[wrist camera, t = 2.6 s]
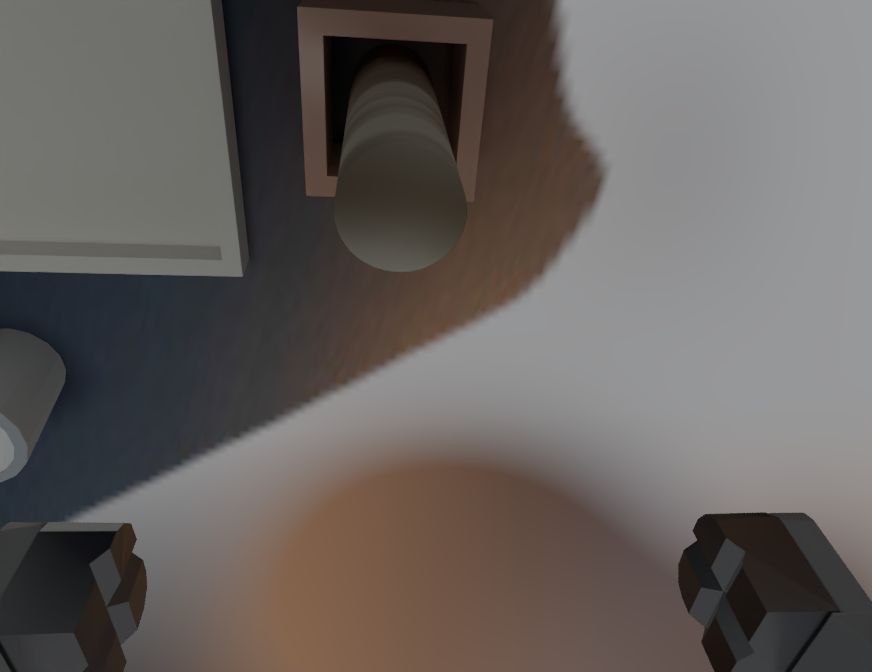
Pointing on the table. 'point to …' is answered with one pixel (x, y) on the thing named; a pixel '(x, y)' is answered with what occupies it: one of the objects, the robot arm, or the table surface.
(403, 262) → the olive grey ringed cylinder
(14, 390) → the grey cup
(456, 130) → the brown square sleeve
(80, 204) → the tray
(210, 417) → the table surface
